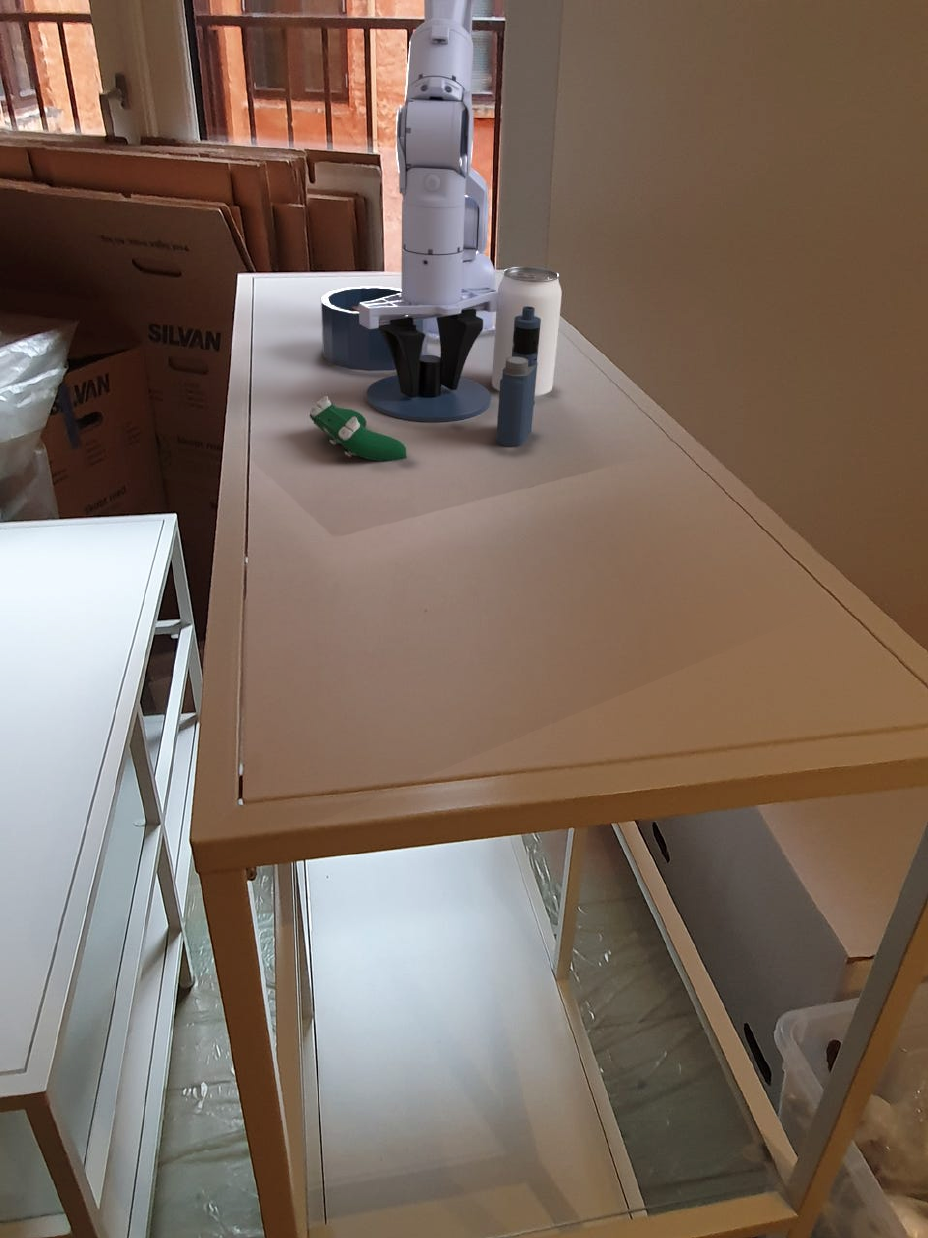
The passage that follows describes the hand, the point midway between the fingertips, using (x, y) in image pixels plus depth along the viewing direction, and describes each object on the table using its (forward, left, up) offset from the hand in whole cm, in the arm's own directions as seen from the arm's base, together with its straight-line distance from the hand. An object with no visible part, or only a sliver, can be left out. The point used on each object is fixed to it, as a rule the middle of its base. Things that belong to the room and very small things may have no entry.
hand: (429, 390), depth 92 cm
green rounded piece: (+12, +7, -2) cm, 14 cm away
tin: (-2, -15, -1) cm, 15 cm away
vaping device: (-2, +12, -2) cm, 12 cm away
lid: (0, 0, -1) cm, 1 cm away
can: (-11, +1, -2) cm, 11 cm away
